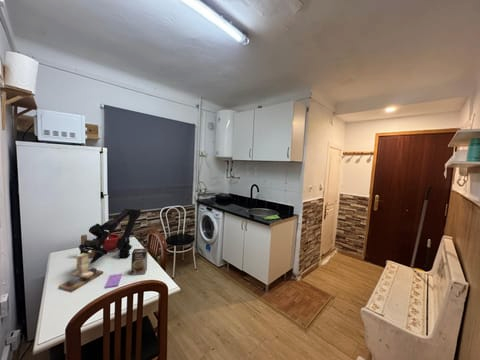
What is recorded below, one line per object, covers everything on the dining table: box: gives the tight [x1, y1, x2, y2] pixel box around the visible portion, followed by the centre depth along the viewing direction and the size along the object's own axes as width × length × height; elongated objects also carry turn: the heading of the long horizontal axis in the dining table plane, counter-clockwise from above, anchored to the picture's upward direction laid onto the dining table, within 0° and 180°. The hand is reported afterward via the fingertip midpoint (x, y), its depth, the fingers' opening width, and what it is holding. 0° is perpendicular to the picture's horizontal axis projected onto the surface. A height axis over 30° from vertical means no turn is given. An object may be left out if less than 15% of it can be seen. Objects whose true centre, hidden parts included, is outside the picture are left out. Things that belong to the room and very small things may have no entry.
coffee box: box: [130, 248, 149, 276], centre depth 133 cm, size 9×6×16 cm
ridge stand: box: [58, 267, 104, 293], centre depth 121 cm, size 20×10×4 cm, turn 168°
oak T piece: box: [71, 253, 93, 278], centre depth 120 cm, size 12×4×13 cm, turn 78°
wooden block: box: [80, 234, 97, 259], centre depth 148 cm, size 4×11×18 cm, turn 109°
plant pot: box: [101, 233, 121, 253], centre depth 162 cm, size 13×13×12 cm
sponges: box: [104, 272, 123, 289], centre depth 122 cm, size 7×13×2 cm, turn 22°
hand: (84, 262), depth 121 cm, fingers open, 9 cm apart
